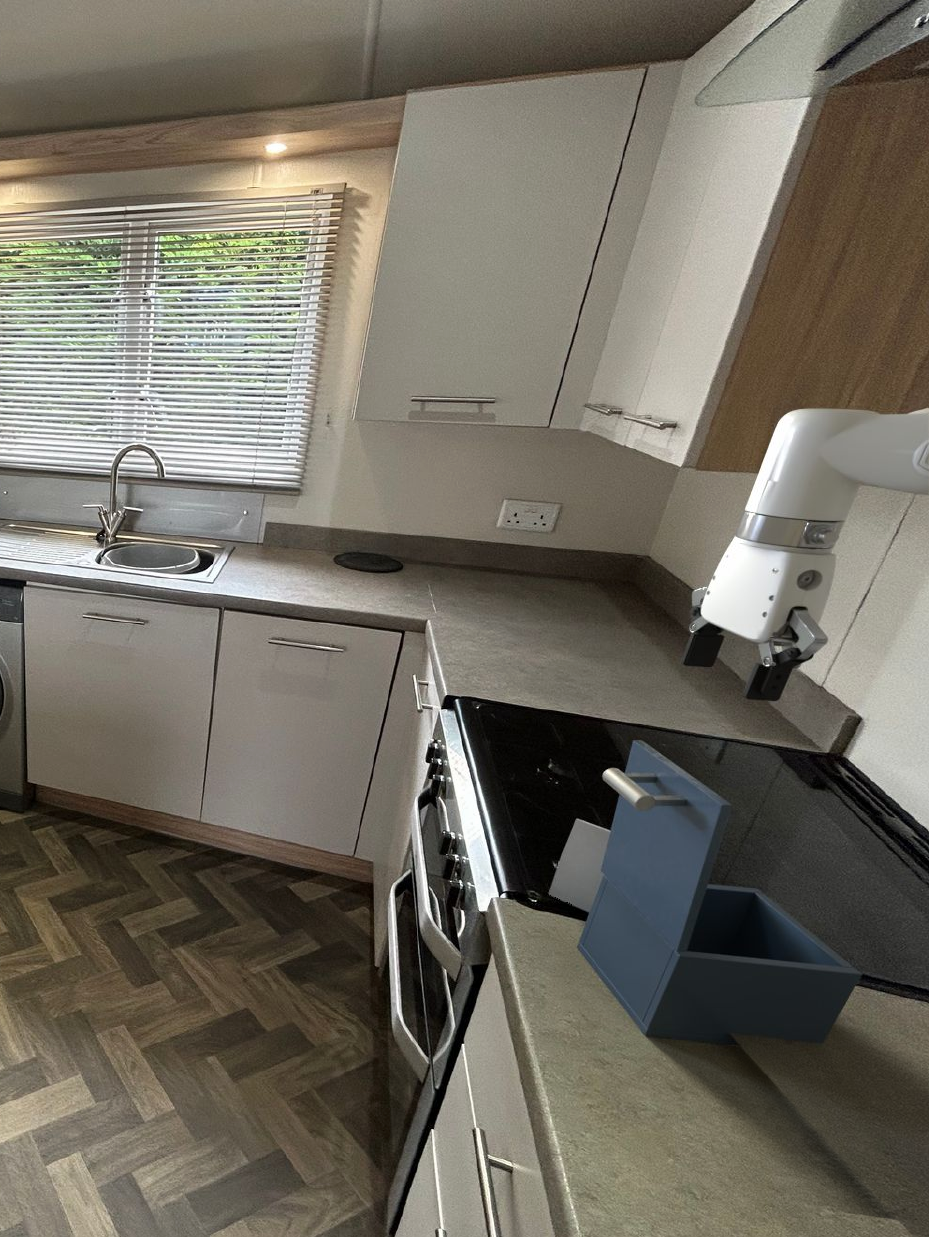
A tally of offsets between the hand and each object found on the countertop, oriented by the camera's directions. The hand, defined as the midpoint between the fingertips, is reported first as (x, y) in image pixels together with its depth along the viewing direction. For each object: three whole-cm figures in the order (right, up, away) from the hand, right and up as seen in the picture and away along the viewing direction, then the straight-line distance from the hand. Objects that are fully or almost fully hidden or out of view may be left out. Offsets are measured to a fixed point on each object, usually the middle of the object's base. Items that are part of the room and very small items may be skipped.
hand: (726, 681), depth 82 cm
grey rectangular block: (-13, -27, +4) cm, 30 cm away
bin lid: (-20, -15, -15) cm, 29 cm away
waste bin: (-13, -32, -9) cm, 35 cm away
